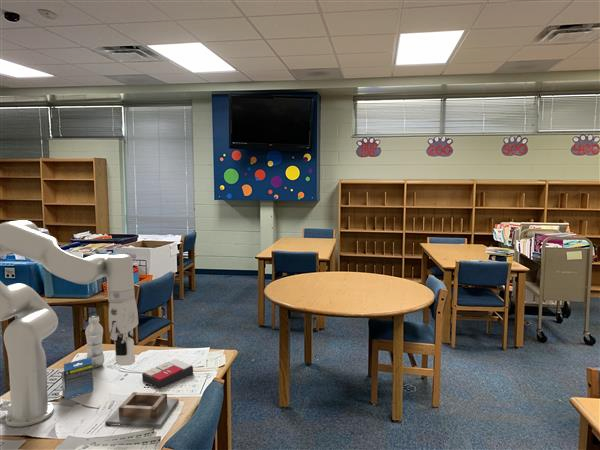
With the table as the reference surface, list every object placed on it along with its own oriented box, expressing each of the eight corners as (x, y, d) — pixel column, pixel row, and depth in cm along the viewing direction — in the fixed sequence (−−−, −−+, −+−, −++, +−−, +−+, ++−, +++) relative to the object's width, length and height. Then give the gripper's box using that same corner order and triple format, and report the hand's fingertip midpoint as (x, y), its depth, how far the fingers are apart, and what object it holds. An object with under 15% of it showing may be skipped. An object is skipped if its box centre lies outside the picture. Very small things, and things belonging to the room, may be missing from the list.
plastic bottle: (107, 362, 167) (105, 314, 165) (99, 370, 160) (98, 320, 158) (91, 362, 166) (89, 314, 165) (83, 370, 160) (81, 320, 158)
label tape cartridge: (90, 387, 146) (89, 353, 145) (93, 391, 143) (92, 356, 142) (62, 395, 140) (60, 360, 139) (65, 399, 137) (63, 364, 136)
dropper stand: (105, 424, 123) (104, 411, 123) (129, 399, 138) (128, 387, 138) (160, 427, 122) (160, 414, 122) (178, 401, 137) (178, 390, 137)
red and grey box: (141, 371, 152) (175, 356, 163) (142, 382, 152) (176, 367, 164) (158, 380, 145) (193, 364, 157) (159, 391, 145) (193, 374, 157)
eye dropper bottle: (128, 358, 132) (125, 322, 131) (136, 363, 128) (134, 326, 127) (114, 363, 128) (112, 326, 127) (123, 368, 125) (120, 329, 124)
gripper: (119, 302, 118) (123, 363, 120) (145, 288, 134) (148, 342, 136) (94, 302, 118) (98, 363, 120) (122, 288, 135) (126, 342, 136)
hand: (124, 351), depth 128 cm, fingers closed on eye dropper bottle, 3 cm apart
